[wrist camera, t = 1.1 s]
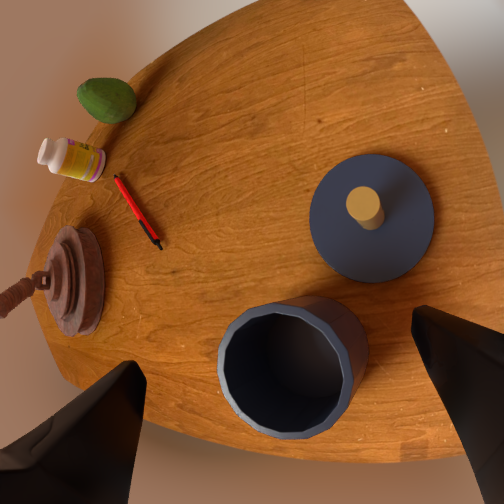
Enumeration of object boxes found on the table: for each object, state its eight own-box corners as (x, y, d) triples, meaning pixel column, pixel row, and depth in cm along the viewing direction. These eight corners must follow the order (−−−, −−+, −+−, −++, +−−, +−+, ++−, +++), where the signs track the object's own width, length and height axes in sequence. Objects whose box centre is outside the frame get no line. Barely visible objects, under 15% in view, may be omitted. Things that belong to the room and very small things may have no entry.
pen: (162, 252, 35) (156, 251, 34) (114, 177, 43) (109, 175, 42) (165, 246, 35) (159, 246, 34) (117, 172, 43) (112, 171, 42)
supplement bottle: (111, 152, 45) (51, 133, 34) (99, 185, 46) (39, 171, 35) (98, 148, 49) (44, 131, 38) (87, 179, 50) (33, 166, 39)
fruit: (143, 118, 41) (85, 92, 31) (117, 137, 45) (62, 117, 35) (148, 84, 42) (96, 57, 32) (122, 104, 46) (73, 83, 36)
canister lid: (450, 189, 19) (460, 166, 14) (398, 305, 21) (396, 315, 16) (342, 142, 25) (324, 113, 20) (293, 246, 27) (265, 240, 22)
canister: (391, 333, 21) (384, 358, 15) (328, 420, 23) (299, 461, 17) (293, 275, 26) (252, 275, 20) (246, 362, 28) (199, 383, 22)
